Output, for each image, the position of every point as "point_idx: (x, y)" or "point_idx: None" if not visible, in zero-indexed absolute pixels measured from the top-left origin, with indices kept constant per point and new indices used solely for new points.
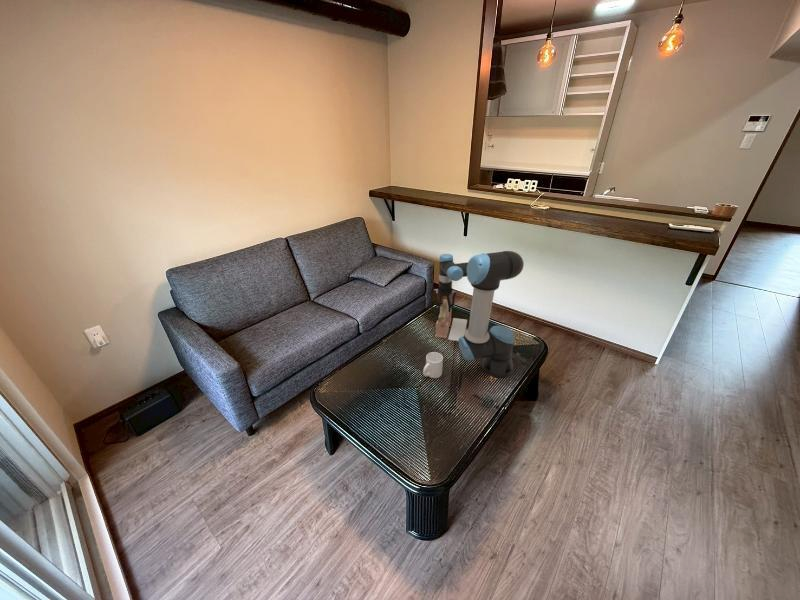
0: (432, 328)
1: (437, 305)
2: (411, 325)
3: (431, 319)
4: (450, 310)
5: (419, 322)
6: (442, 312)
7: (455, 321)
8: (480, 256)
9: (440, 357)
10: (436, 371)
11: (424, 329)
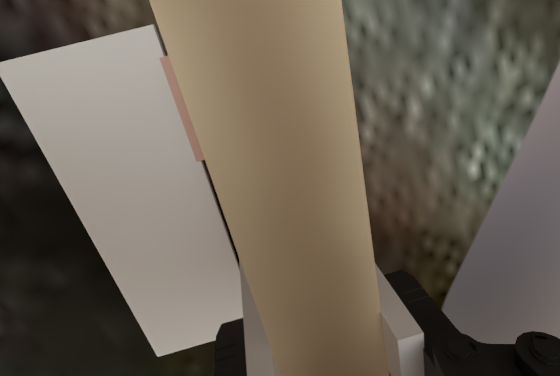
0: (359, 137)
1: (494, 345)
2: (535, 93)
3: (403, 242)
4: (218, 352)
5: (481, 164)
6: (310, 200)
7: (225, 299)
8: None
9: None
10: None
11: (418, 89)
